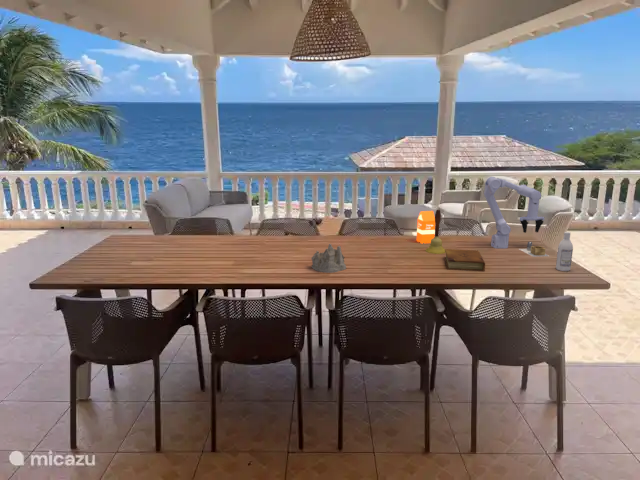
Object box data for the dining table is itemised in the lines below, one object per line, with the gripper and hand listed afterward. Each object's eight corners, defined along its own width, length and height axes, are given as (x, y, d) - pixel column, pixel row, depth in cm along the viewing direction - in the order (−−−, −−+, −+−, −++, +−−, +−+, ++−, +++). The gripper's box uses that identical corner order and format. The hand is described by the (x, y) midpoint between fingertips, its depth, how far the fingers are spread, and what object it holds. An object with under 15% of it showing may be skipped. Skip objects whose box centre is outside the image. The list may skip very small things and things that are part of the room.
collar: (535, 255, 286) (536, 248, 285) (530, 252, 291) (531, 246, 290) (544, 255, 286) (545, 248, 286) (539, 252, 292) (540, 246, 291)
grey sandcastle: (350, 268, 264) (348, 241, 260) (324, 275, 255) (322, 246, 252) (333, 263, 276) (331, 237, 273) (308, 269, 268) (306, 242, 264)
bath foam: (573, 270, 262) (578, 233, 257) (562, 271, 260) (566, 234, 255) (563, 267, 268) (567, 230, 263) (552, 268, 266) (556, 231, 261)
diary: (484, 272, 261) (485, 261, 259) (447, 270, 264) (448, 260, 262) (478, 260, 283) (479, 250, 281) (444, 258, 286) (445, 248, 284)
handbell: (450, 252, 297) (453, 210, 291) (434, 254, 291) (436, 212, 285) (437, 247, 307) (439, 207, 302) (421, 249, 302) (423, 208, 296)
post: (528, 252, 297) (529, 242, 296) (526, 251, 299) (527, 241, 298) (531, 252, 297) (533, 242, 296) (529, 251, 300) (530, 241, 298)
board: (532, 258, 285) (533, 256, 284) (518, 250, 301) (518, 248, 301) (549, 257, 286) (549, 255, 285) (533, 250, 302) (534, 248, 302)
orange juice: (416, 240, 324) (417, 210, 320) (428, 240, 326) (430, 209, 322) (421, 243, 317) (423, 212, 312) (434, 242, 319) (436, 211, 314)
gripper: (524, 211, 295) (522, 234, 298) (548, 210, 296) (545, 233, 299) (518, 209, 301) (516, 231, 305) (541, 208, 303) (539, 230, 306)
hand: (530, 232), depth 302 cm, fingers open, 7 cm apart
